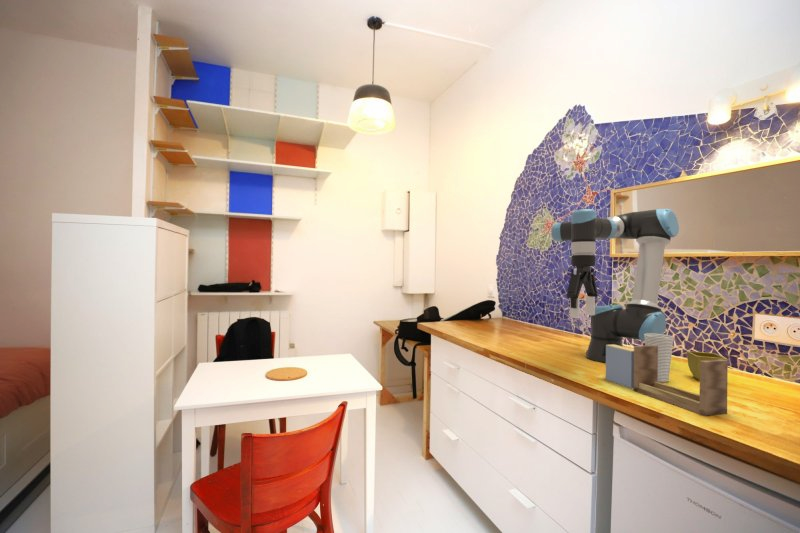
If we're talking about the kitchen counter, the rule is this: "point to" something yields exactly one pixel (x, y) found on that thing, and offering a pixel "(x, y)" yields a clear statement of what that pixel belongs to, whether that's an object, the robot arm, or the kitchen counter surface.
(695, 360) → the flower pot
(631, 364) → the door panel
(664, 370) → the cup
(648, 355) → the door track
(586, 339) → the kitchen counter surface
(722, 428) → the kitchen counter surface
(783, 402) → the kitchen counter surface
